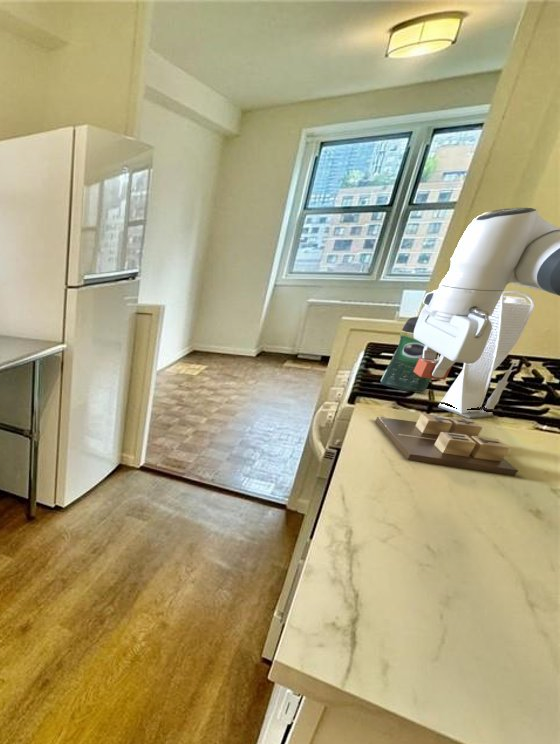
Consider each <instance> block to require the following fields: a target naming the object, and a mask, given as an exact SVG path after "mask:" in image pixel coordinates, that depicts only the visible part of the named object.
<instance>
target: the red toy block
mask: <svg viewBox="0 0 560 744" xmlns="http://www.w3.org/2000/svg"><path fill="white" fill-rule="evenodd" d="M439 361H440V360H439V358H437V359H427V358H419V360H418V362H417V364H416V367H415V369H414V371H413V372H415V373H416V374H417V375H419V376H420V377H423V378H431V379H432V380H443V381H445V380H446V379H447V377H448V375H449V373H450V372H451V369H452V367H453V365H452V366H451V367H450V368H449V369H448V370H447V372H446V374H445V376H444V377H442V378H439V377H434V376H432V375H431V374H430V372H431V371H432V368H433V366H436V365H437V363H438V362H439Z"/></svg>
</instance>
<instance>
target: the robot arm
mask: <svg viewBox="0 0 560 744" xmlns="http://www.w3.org/2000/svg"><path fill="white" fill-rule="evenodd" d="M453 252H454V253H453V254H452V257H451V258H450V265H449V270H448V271H447V274H446V275H445V277H444V278H443V279H442V280H441V282H440V283H439V285H438V288H437V289H435V290H433V291H431V292H427V293H426V294H425V295H424V298H423V300H422V304H423V305H424V306H423V307H422V309H421V311H420V313H419V315H418V317H419V318H418V320H417V323H416V326H415V329H414V339H416V340H418V341H419V342H421V343H423V344H424V345H425V347H424V349H423V356H422V358H427V359H435V358H436V354H437V352H438V353H439V355H440V356H439V357H438V360H440V361H439V362H438V363H437V365H436V366H433V368H432V371H431V372H430V374H431V375H432V376H434V377H439V378H442V377H444V376H445V374H446V372H447V370H448V369H449V368H450V367H451V366H452V367H453V365H454V364H456V363H461V364H464V363H475V362H476V361H477V360H478V359H479V358H480V357H481V355H482V353H483V351H484V348H485V346H486V344H487V341H488V339H489V336H490V333H491V330H492V324H491V322H490V320H489V316H490V315H492V313H493V311H494V309H495V307H496V305H497V303H498V301H499V300H500V297H501V295H502V293H503V292H504V291H505V289H506V287H507V285H509V284H513V285H516V286H520V287H524V288H528V289H534V290H539V291H543V292H547V293H550V294H552V295H556V296H559V297H560V227H559V226H556V225H554V224H553V223H550V222H549V221H548V220H546V219H544V218H543V217H542V216H541V215H540V214H539V211H538V209H536V208H533V207H512V208H501V209H495V210H489V211H485V212H484V213H481V214H479V215H478V216H476V218H474V219H473V220H472V222H471V223H470V224H469V225H468V226H467V228H466V230H465V231H464V233H463V235H462V236H461V238H460V240H459V242H458V244H457V247H456V248H455V250H454V251H453ZM452 367H451V368H452Z"/></svg>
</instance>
